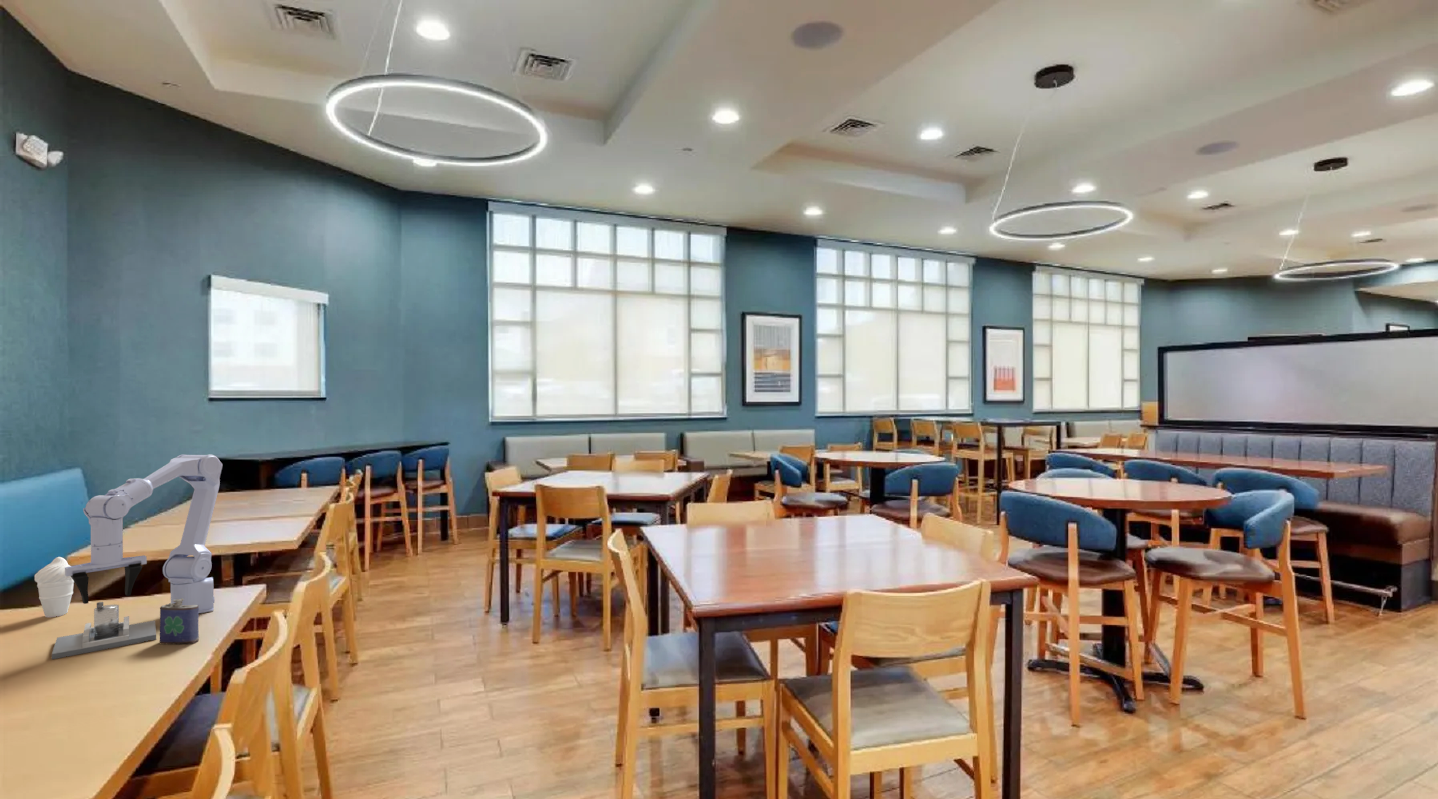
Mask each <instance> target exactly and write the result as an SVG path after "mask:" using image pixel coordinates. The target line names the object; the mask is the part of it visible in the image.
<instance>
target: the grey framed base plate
mask: <svg viewBox="0 0 1438 799" xmlns="http://www.w3.org/2000/svg"><path fill="white" fill-rule="evenodd" d="M156 628H157V627H156V620H148V621H144V622H137V623H133V624H132V623H131V624H130V616H123V621H121V622H120V621H119V634H118V635H116V636H113V637H109V638H104V639H95V638H94V626H92V622H87V623H85V624H84V629H83V632H80V633H74V634H70V635H64V636H59V637H56V640H55V644H54V646H53V649H52V652H51V660H55V659H57V660H58V659H62V658H66V656H67V657H72V656H76V655H81V654H82V655H83V654H88V653H92V652H98V651H103V650H109V649H114V648H119V647H124V646H129V644H130V645H135V644H140V643H145V642H144V641H146V642H149V641H148V640H151V641H154V640H155V641H156V640H157V630H156ZM108 648H109V649H108Z"/></svg>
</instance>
